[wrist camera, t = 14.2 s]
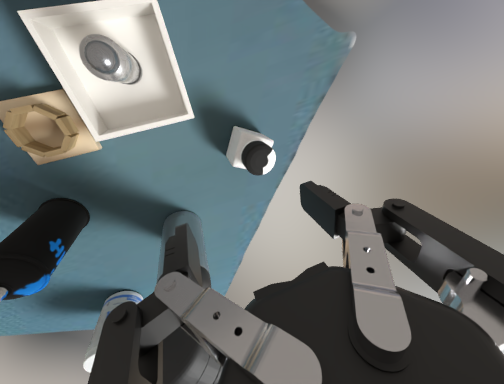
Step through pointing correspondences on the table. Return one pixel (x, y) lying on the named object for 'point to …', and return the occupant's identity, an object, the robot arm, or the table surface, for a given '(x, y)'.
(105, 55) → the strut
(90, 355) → the supplement tub
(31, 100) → the socket base
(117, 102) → the bin
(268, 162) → the medicine bottle
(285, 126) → the table surface
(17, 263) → the aerosol can
